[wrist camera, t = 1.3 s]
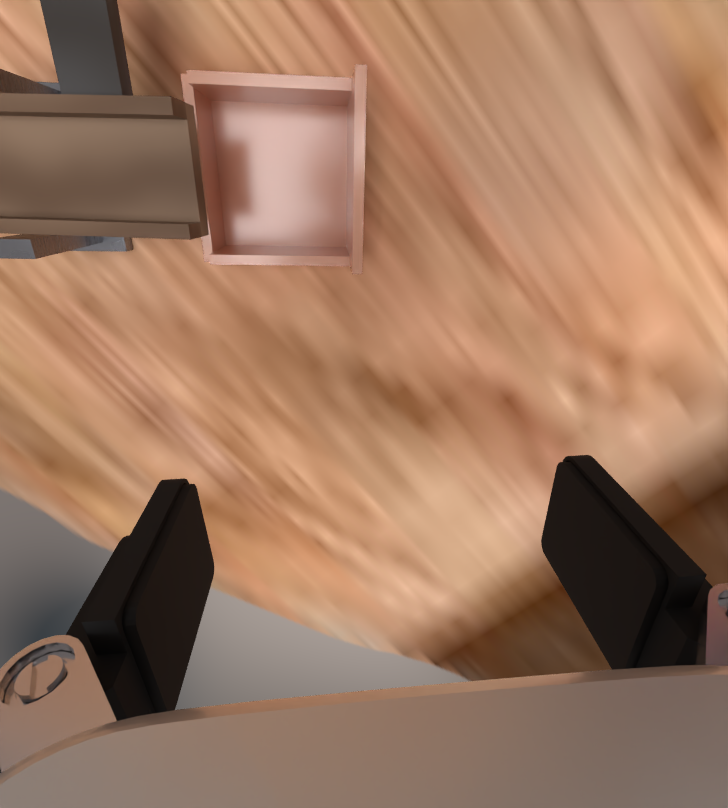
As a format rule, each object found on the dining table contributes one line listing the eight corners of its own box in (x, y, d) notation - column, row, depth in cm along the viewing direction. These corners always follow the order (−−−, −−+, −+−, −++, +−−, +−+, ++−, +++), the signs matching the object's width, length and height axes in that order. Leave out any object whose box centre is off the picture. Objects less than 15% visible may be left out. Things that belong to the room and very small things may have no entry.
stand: (20, 84, 28) (-109, 40, 20) (101, 88, 29) (9, 46, 20) (63, 248, 33) (-29, 269, 24) (133, 249, 33) (67, 270, 25)
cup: (202, 91, 29) (156, 54, 21) (355, 97, 30) (366, 64, 22) (220, 252, 34) (187, 272, 26) (353, 254, 35) (362, 274, 27)
